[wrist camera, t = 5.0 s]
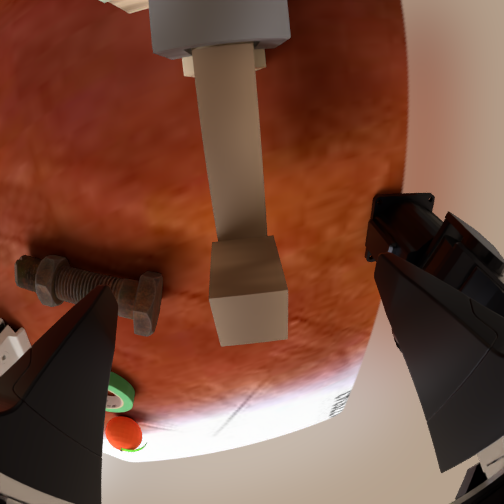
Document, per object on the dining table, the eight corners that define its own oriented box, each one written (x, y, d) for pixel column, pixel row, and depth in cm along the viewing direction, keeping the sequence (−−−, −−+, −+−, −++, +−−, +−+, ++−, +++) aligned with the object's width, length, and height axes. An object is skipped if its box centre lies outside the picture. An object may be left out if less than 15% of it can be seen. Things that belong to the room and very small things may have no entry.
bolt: (36, 243, 24) (166, 271, 26) (33, 289, 24) (159, 321, 26) (5, 246, 18) (155, 282, 20) (3, 301, 18) (148, 344, 21)
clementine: (146, 414, 41) (142, 450, 35) (152, 427, 45) (149, 459, 39) (104, 407, 40) (97, 441, 34) (113, 421, 44) (108, 452, 38)
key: (254, 49, 11) (276, 24, 6) (269, 257, 18) (287, 339, 12) (191, 56, 11) (162, 37, 6) (221, 262, 18) (221, 346, 12)
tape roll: (140, 378, 35) (138, 394, 32) (130, 405, 40) (128, 418, 38) (67, 351, 31) (61, 367, 29) (69, 384, 36) (65, 397, 34)
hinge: (49, 385, 36) (20, 422, 28) (32, 370, 37) (3, 405, 28) (23, 326, 28) (-21, 372, 19) (5, 309, 28) (-37, 350, 19)
